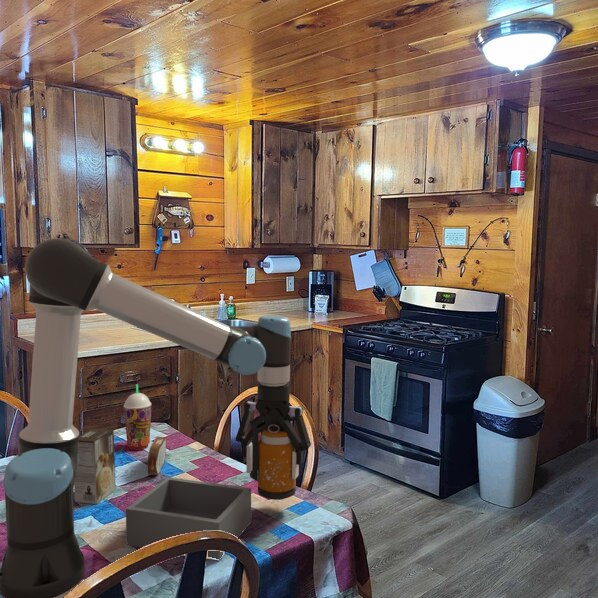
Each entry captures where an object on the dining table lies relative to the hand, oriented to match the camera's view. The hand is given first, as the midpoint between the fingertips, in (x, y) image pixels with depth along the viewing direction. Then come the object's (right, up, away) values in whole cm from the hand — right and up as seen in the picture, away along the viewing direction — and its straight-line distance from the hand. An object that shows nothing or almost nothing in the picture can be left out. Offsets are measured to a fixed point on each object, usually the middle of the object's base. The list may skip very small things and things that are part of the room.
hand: (272, 474), depth 138 cm
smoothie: (-44, -5, +45) cm, 63 cm away
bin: (-17, -10, -9) cm, 22 cm away
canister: (0, -5, +1) cm, 5 cm away
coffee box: (-45, -9, +10) cm, 47 cm away
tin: (-34, -7, +27) cm, 44 cm away
